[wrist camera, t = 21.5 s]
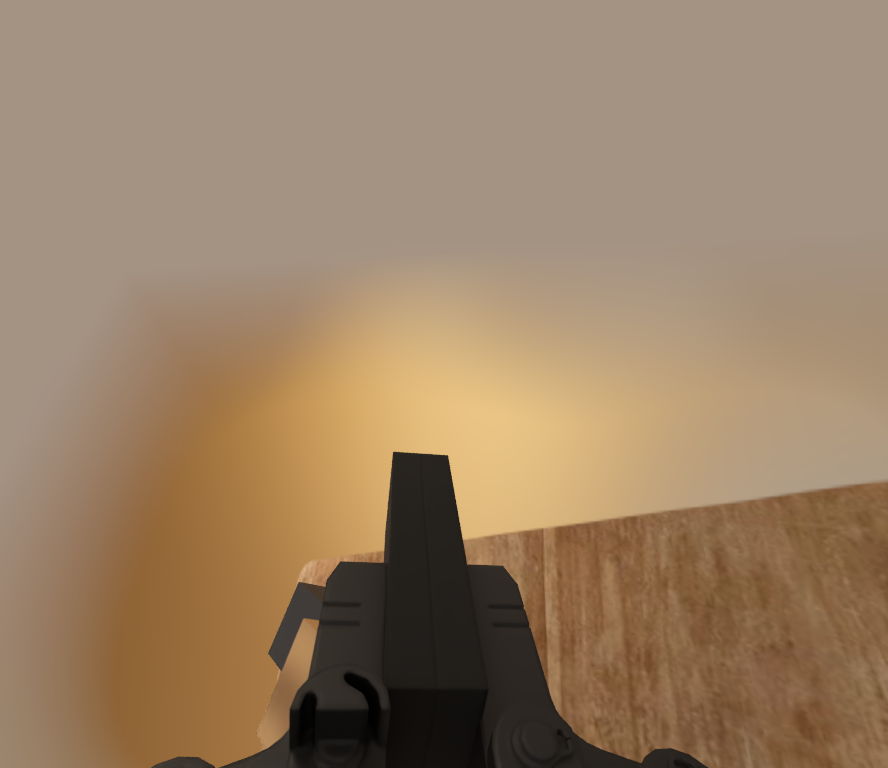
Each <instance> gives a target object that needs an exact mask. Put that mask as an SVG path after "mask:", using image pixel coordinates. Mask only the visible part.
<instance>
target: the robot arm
mask: <svg viewBox="0 0 888 768" xmlns="http://www.w3.org/2000/svg"><path fill="white" fill-rule="evenodd" d="M152 768H215V767H214V766H213V765H211V764H209V763H208V762H206V761H204V760H202V759H201V758H199V757H176V758H173V759H171V760H168V761H165V762H162V763H159V764H156V765H154V766H153V767H152ZM220 768H708V767H706V766H705V765H703V764H702V763H701V762H699V761H698V760H696V759H695V758H693V757H692V756H690V755H689V754H686V753H683V752H680V751H677V750H674V749H672V748H668V749H655V750H654V751H652V752H651V753H650V754H648V755H647V756H646V757H644V759H643V761H642V764H641V763H638V762H636V761H633V760H630V759H627V758H624V757H621V756H619V755H616V754H613V753H610V752H607V751H605V750H602V749H599V748H597V747H595V746H593V745H591V744H589V743H587V742H586V741H584V740H583V739H582V738H580V737H579V736H578V735H576V734H575V733H574V732H573V731H572V729H571V727H570V726H569V725H568V724H567V723H566V722H565V721H564V720H563V718H562V717H561V716H560V715H559V714H558V712H557V711H556V709H555V706H554V704H553V701H552V699H551V696H550V693H549V689H548V686H547V683H546V679H545V676H544V672H543V669H542V666H541V662H540V659H539V656H538V652H537V649H536V645H535V642H534V639H533V635H532V632H531V628H529V622H528V618H527V615H526V612H525V610H524V605H523V601H522V598H521V595H520V591H519V588H518V584H517V583H516V582H515V581H514V579H513V578H512V577H511V576H510V574H509V573H508V572H507V570H506V569H505V568H504V567H503V566H491V565H467V561H466V556H465V550H464V544H463V539H462V533H461V527H460V522H459V516H458V510H457V505H456V499H455V493H454V487H453V482H452V476H451V471H450V465H449V459H448V455H433V454H418V453H403V452H393V460H392V469H391V480H390V490H389V501H388V511H387V521H386V532H385V551H384V563H367V562H340V563H339V564H338V566H337V567H336V568H335V570H334V571H333V572H332V574H331V575H330V576H329V578H328V579H327V582H326V588H325V593H324V598H323V604H322V608H321V613H320V619H319V625H318V629H317V634H316V639H315V644H314V650H313V655H312V660H311V665H310V670H309V675H308V679H307V680H306V681H305V682H304V683H303V685H302V686H301V687H300V688H299V689H298V690H297V692H296V695H295V697H294V700H293V702H292V704H291V707H290V714H289V730H288V731H287V732H286V733H285V734H284V735H283V736H282V737H281V738H280V739H279V740H278V741H276V742H275V743H274V744H272V745H271V746H270V747H268V748H267V749H265V750H263V751H261V752H259V753H257V754H255V755H253V756H250V757H247V758H245V759H242V760H239V761H236V762H234V763H231V764H228V765H226V766H222V767H220Z"/></svg>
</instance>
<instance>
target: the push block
mask: <svg viewBox="0 0 888 768" xmlns="http://www.w3.org/2000/svg"><path fill="white" fill-rule="evenodd" d="M318 625H319V620H313V619H306V618H304V619H303V621H302V623H301V626H300V628H299V631H298V633H297V635H296V638H295V640H294V643H293V645H292V648H291V650H290V652H289V655H288V657H287V660H286V662H285V665H284V667H283V669H282V672H281V674H280V677H279V679H278V682H277V684H276V687H275V689H274V691H273V694H272V696H271V699H270V701H269V704H268V706H267V708H266V711H265V713H264V716H263V718H262V721H261V723H260V726H259V728H258V730H257V733H256V734H257V736H258V737H259V739H260V741H261V743H262V744H263V746H264V748H265V749H267V748H268V747H270V746H271V745H272V744H274V743H275V742H276V741H278V740H279V739H280V738H281V737H282V736H283V735H284V734H285V733H286V732H287V731H288V730H289V714H290V707H291V704H292V702H293V700H294V697H295V695H296V692H297V690H298V689H299V688H300V687H301V686H302V685H303V683H304V682H305V681H306V680H307V679H308V675H309V670H310V665H311V660H312V655H313V650H314V644H315V639H316V634H317V629H318Z"/></svg>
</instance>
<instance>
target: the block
mask: <svg viewBox="0 0 888 768" xmlns="http://www.w3.org/2000/svg"><path fill="white" fill-rule="evenodd" d="M325 588H326V587H323V586H317V585H312V584H307V583H302V582H299V583H298V585H297V588H296V590H295V592H294V594H293V597H292V599H291V601H290V604H289V606H288V608H287V611H286V613H285V616H284V618H283V620H282V622H281V625H280V627H279V629H278V632H277V634H276V636H275V639H274V641H273V643H272V646H271V648H270V650H269V653H268V654H269V655H270V656H271V658H272V659H273V661H274V662H275V663H276V665H277V666H278V667H279V669H280V670H281V671H282V669H283V667H284V665H285V662H286V660H287V657H288V655H289V652H290V650H291V648H292V645H293V643H294V640H295V638H296V635H297V633H298V631H299V628H300V626H301V623H302V621H303V619H304V618H306V619H313V620H319V619H320V613H321V608H322V604H323V598H324V593H325Z"/></svg>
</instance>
